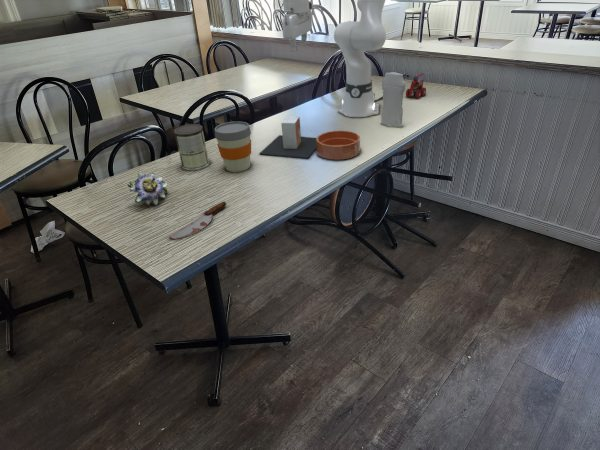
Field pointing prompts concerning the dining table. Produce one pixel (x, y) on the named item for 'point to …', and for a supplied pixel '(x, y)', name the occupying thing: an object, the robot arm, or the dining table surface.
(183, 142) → the coffee can
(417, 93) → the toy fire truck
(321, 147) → the bowl
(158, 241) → the dining table surface
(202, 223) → the kitchen knife
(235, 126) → the reusable coffee cup
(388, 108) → the tall pale column
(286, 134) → the small box
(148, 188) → the passion flower
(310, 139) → the mat
